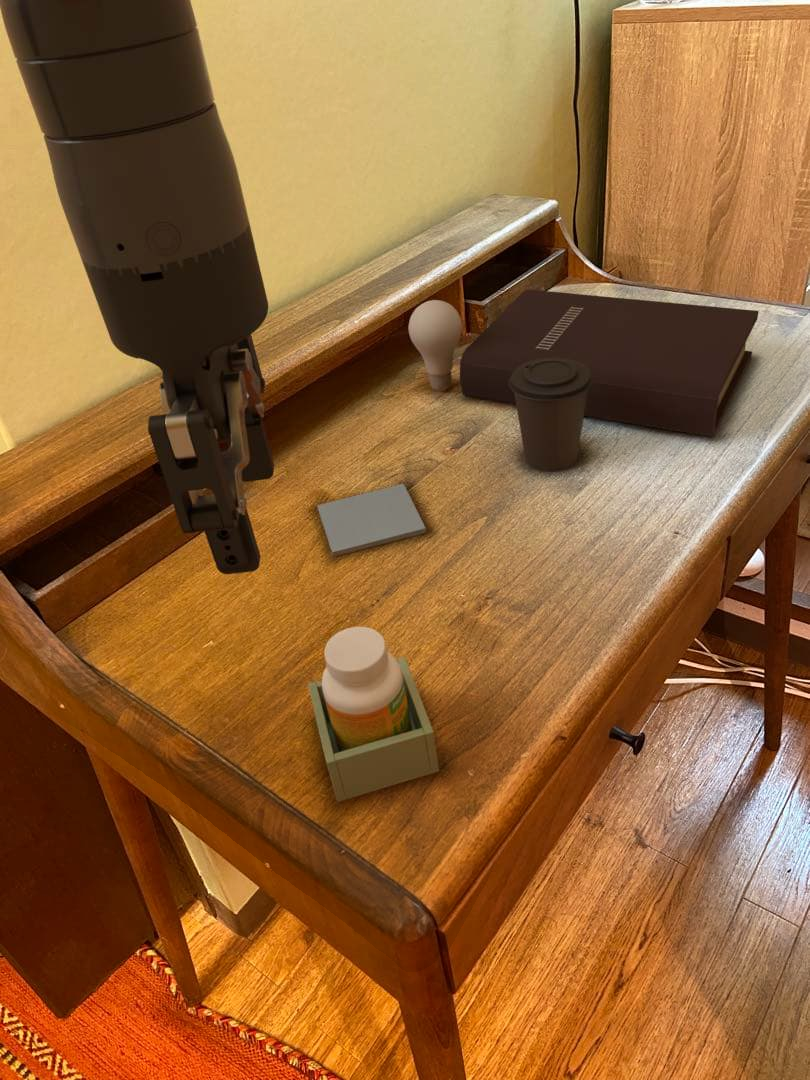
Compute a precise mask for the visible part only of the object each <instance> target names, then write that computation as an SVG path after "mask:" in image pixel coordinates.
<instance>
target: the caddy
mask: <svg viewBox="0 0 810 1080" xmlns="http://www.w3.org/2000/svg"><path fill="white" fill-rule="evenodd" d="M395 659H396V660H397V661H398V663H399V665H400V667H401V671H402V675H403V681H404V686H405V692H406V697H407V703H408V708H409V714H410V720H411V726H412V731H410V732H406V733H403V734H399V735H396V736H393V737H389V738H386V739H382V740H379V741H376V742H372V743H369V744H365V745H362V746H358V747H355V748H352V749H348V750H345V751H341V752H339V750H338V747H337V743H336V740H335V736H334V732H333V728H332V725H331V721H330V717H329V713H328V710H327V706H326V702H325V699H324V695H323V690H322V679H320V680H317V681H312V682H308V684H307V688H308V691H309V695H310V699H311V704H312V708H313V712H314V716H315V721H316V727H317V728H318V729H317V730H318V734H319V738H320V743H321V746H322V751H323V755H324V759H325V764H326V768H327V771H328V774H329V778H330V781H331V785H332V788H333V792H334V795H335V799H336V801H337V803H339V802H343V801H346V800H349V799H352V798H356V797H359V796H362V795H366V794H368V793H372V792H373V793H374V792H376V791H379V790H383V789H385V788H389V787H392V786H395V785H398V784H402V783H405V782H408V781H412V780H415V779H419V778H421V777H425V776H429V775H432V774H435V773H438V772H440V766H439V759H438V753H437V746H436V740H435V734H434V729H433V727H432V724H431V721H430V719H429V716H428V713H427V711H426V708H425V706H424V703H423V700H422V698H421V695H420V692H419V689H418V687H417V685H416V682H415V679H414V676H413V674H412V671H411V669H410V666H409V664H408V659H407V658H406V656H401V657H398V658H395Z"/></svg>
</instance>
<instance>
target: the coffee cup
mask: <svg viewBox="0 0 810 1080" xmlns="http://www.w3.org/2000/svg"><path fill="white" fill-rule="evenodd" d="M592 383H593V376H592V373H591V372H590V371H589V369H588V368H587V367H586V366H585V365H584V364H582V363H580V362H578V361H575V360H571V359H566V358H542V359H536V360H533V361H529V362H527V363H524V364H522V365H520V366H519V367H517V368H516V369H515V370H514V371H513V373H512V375H511V377H510V378H509V387H510V388H511V390H512V391H513V392H514V394H515V400H516V405H515V406H516V412H517V417H518V424H519V430H520V437H521V442H522V448H523V454H524V461H525V462H526V464H527V465H528V466H529V467H532V469H535V470H538V471H541V472H542V471H543V472H559V471H563V470H566V469H568V468H570V467H572V466H573V465H574V464H576V462H577V460H578V457H579V452H580V451H579V450H580V443H581V438H582V437H581V436H582V431H583V424H584V417H585V416H584V411H585V404H586V398H587V391H588V389H589V388H590V387H591V385H592Z"/></svg>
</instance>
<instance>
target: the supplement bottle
mask: <svg viewBox="0 0 810 1080" xmlns="http://www.w3.org/2000/svg"><path fill="white" fill-rule="evenodd" d="M323 653H324V661H325V666H326V667H325V669H324V670H323V674H322V677H321V680H322V690H323V695H324V699H325V702H326V706H327V710H328V713H329V717H330V721H331V725H332V728H333V732H334V736H335V740H336V743H337V747H338V750H339V752H341V751H345V750H348V749H352V748H355V747H358V746H362V745H365V744H369V743H372V742H376V741H379V740H382V739H386V738H389V737H393V736H396V735H399V734H403V733H406V732H410V731H412V726H411V720H410V714H409V708H408V703H407V697H406V692H405V686H404V681H403V675H402V671H401V667H400V665H399V663H398V661H397V660H396V659H397V658H396V657H395V656H394V654H393V655H392V653H390V652H389V651H388V647H387V643H386V641H385V638H384V636H382V634H381V633H380V632H379V631H377V630H375V629H373V628H372V627H371V628H370V627H367V626H351V627H348V628H347V627H346V628H344V629H342V630H340V631H338V632H337V633H335V634H334V635H332V636H331V637H330V638H329V640H328V641H327V642H326V644H325V647H324V652H323Z"/></svg>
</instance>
